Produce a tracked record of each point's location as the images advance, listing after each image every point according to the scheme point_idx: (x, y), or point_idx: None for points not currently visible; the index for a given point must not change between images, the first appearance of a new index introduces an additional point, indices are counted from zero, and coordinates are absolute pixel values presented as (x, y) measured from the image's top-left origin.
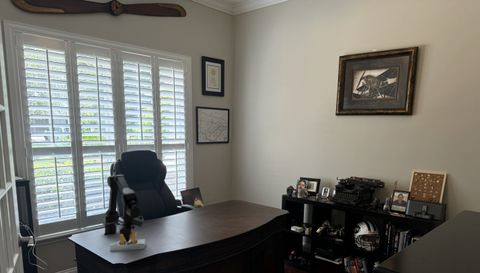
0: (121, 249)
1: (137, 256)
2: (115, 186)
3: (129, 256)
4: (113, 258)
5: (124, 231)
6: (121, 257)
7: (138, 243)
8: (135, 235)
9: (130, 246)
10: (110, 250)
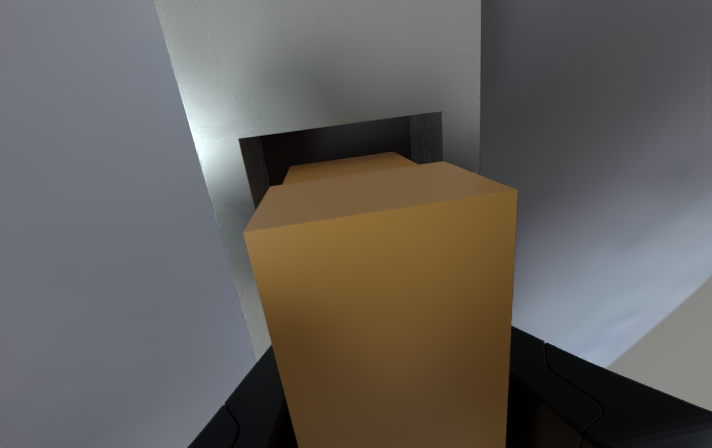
0: None
1: (697, 8)
2: None
3: (653, 136)
4: (642, 304)
5: None
6: (647, 229)
7: (452, 60)
8: (486, 183)
9: None
10: None
